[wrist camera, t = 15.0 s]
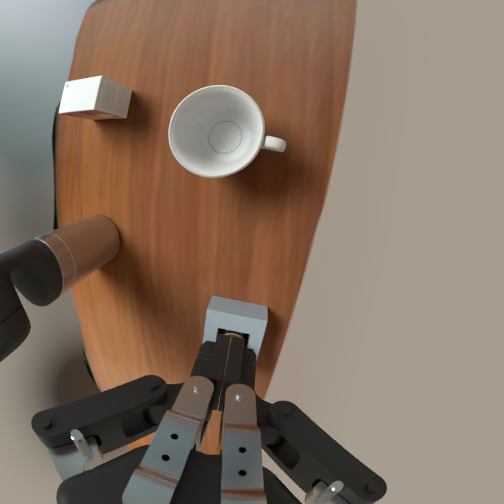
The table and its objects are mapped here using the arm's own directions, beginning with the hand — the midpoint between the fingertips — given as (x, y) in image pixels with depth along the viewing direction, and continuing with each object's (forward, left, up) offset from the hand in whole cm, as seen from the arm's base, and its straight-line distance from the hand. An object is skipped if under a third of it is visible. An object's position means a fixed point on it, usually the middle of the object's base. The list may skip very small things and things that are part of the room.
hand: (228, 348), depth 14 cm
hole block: (-10, -17, -31) cm, 37 cm away
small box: (-16, +30, -31) cm, 46 cm away
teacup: (+2, +14, -31) cm, 34 cm away
